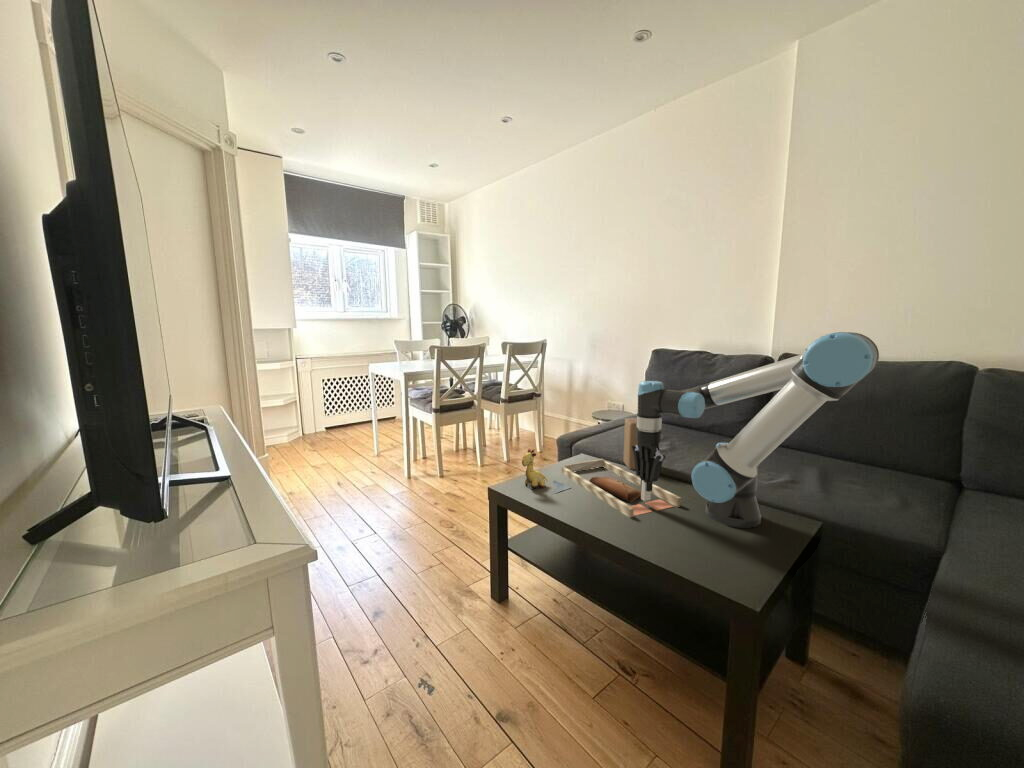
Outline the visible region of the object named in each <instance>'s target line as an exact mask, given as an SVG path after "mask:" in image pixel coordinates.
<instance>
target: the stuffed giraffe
mask: <svg viewBox="0 0 1024 768" xmlns="http://www.w3.org/2000/svg"><path fill="white" fill-rule="evenodd" d="M527 449H528V450H527V452H526V453H525V454H524V455H523V457H522V460H521V465H522V466H523V467H526V470H525V476H526V478H525V481H524V484H525V486H526V488H527V489H529V490H538V489H544V488H545V487H546V482H548V481H549V480H548V478H547V476H546V475H545V474H543V472H541V471H538V470H536V469H534V463H535V462H534V459H535V457H537V455H538V454H537V452H535V448H533V449H531V448H527ZM556 483H557V484H556ZM552 484H553V485H555V488H554V489H553V490H552V492H551V495H555V494H557V493H560V492H562V491H567V490H569V489H571V487H570V486H568V485H567V484H565V483H562V482H559V481H557V480H554V481H553V480H552Z"/></svg>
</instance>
